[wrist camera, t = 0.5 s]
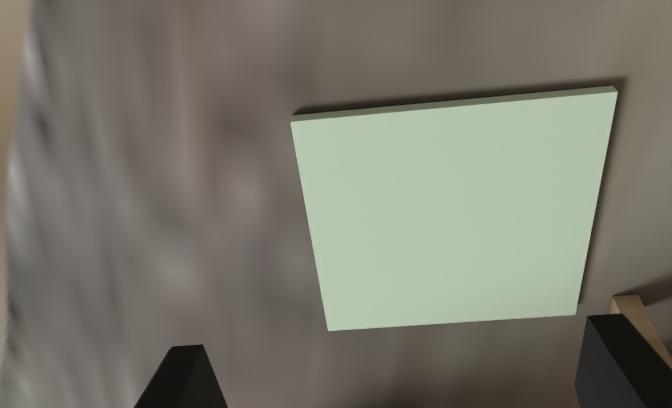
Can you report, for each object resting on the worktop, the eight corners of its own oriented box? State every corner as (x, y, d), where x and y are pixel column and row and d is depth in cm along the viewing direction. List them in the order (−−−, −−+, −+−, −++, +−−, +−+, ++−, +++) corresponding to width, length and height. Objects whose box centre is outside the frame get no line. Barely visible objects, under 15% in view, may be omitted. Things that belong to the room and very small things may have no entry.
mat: (572, 307, 25) (575, 314, 25) (328, 323, 26) (328, 330, 25) (613, 85, 19) (617, 91, 18) (291, 115, 20) (290, 121, 19)
